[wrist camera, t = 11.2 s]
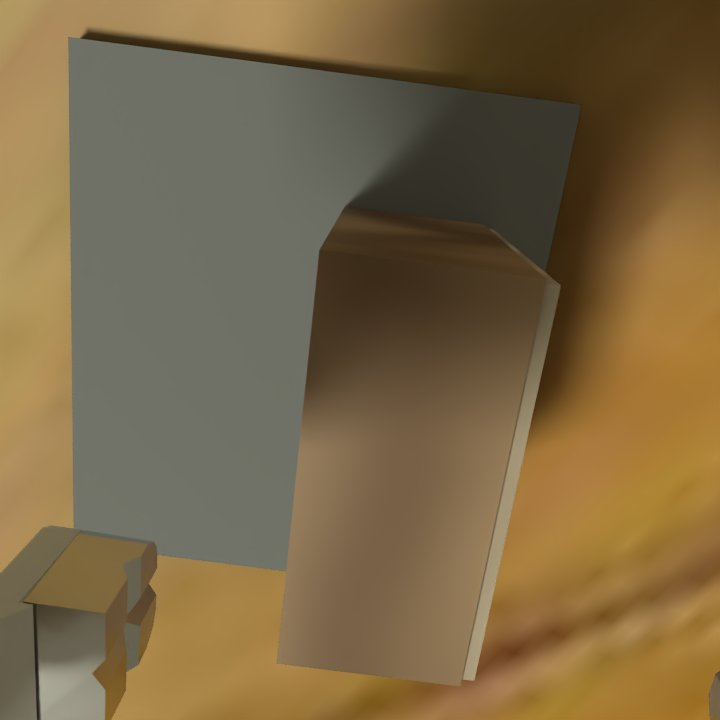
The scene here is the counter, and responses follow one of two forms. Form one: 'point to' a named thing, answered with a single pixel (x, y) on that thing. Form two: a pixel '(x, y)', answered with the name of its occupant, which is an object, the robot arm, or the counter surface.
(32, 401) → the counter surface
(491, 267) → the wooden block
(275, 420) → the rubber mat
